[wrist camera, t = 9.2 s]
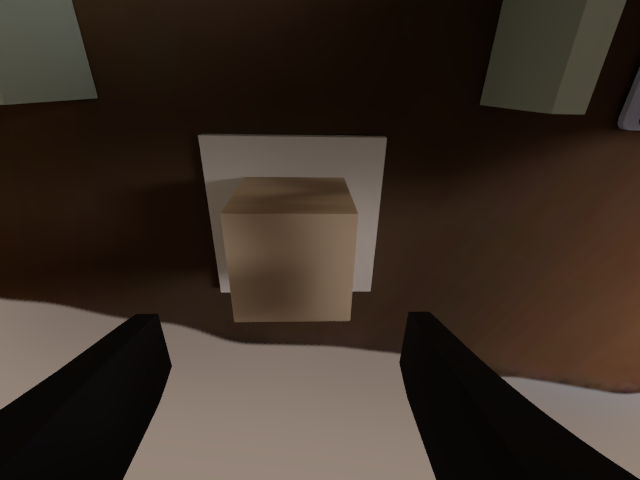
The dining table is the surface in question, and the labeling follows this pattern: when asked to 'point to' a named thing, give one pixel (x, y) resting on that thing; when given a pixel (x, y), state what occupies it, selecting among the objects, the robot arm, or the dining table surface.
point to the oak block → (290, 249)
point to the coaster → (297, 161)
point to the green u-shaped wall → (499, 88)
